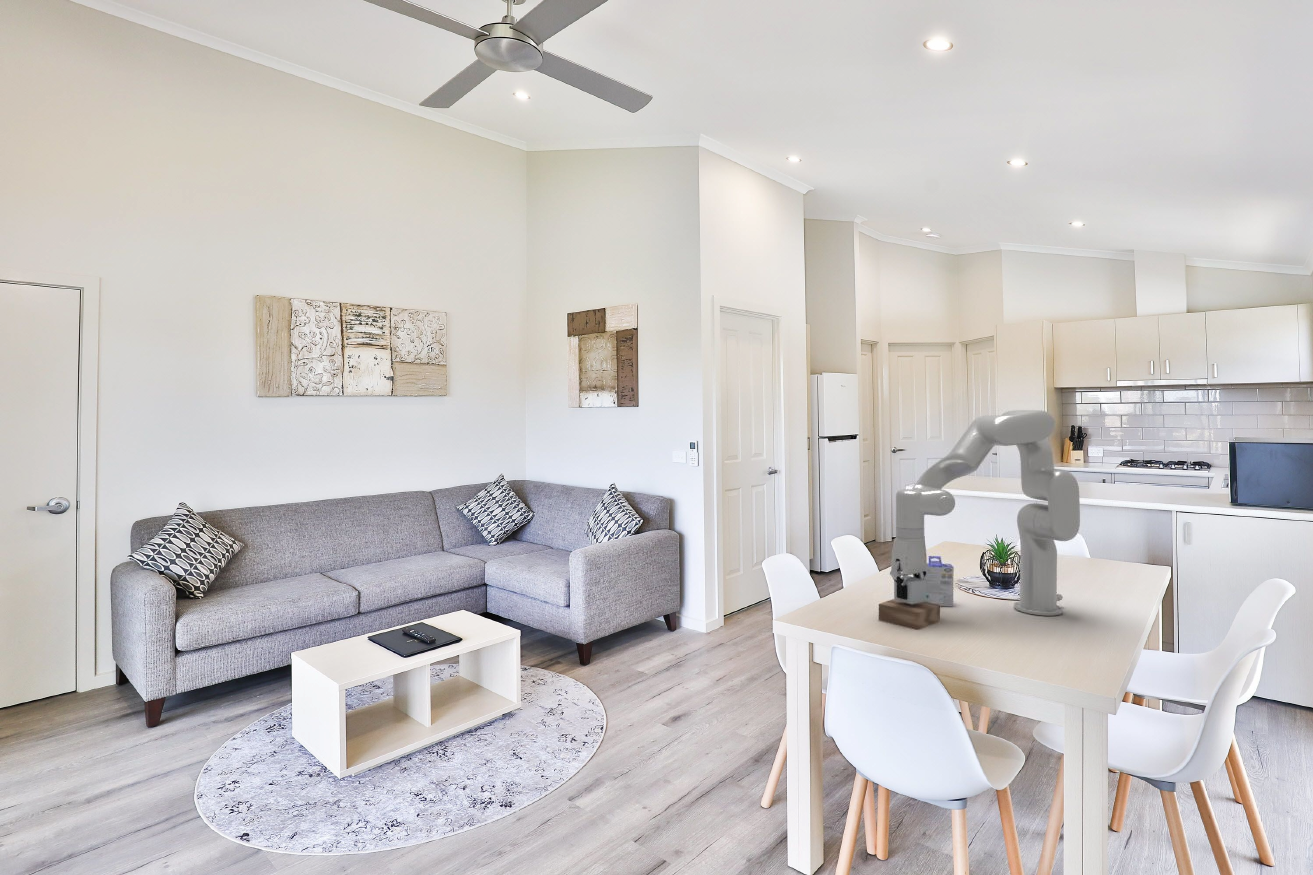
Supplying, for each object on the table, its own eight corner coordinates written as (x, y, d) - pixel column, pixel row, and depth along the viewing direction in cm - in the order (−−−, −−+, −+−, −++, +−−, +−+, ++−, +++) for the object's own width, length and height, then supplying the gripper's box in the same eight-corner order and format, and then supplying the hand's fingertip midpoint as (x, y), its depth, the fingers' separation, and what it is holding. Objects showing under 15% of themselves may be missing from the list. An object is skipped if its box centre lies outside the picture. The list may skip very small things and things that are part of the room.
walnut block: (901, 613, 207) (901, 596, 207) (940, 622, 198) (940, 604, 198) (878, 621, 199) (878, 603, 199) (917, 631, 190) (918, 612, 190)
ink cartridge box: (950, 602, 217) (951, 555, 217) (954, 607, 212) (954, 559, 211) (917, 600, 219) (917, 554, 219) (920, 605, 214) (920, 558, 213)
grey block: (908, 596, 203) (908, 575, 202) (925, 601, 198) (925, 579, 197) (894, 599, 199) (894, 578, 199) (911, 604, 194) (911, 582, 194)
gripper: (918, 528, 206) (918, 589, 206) (878, 534, 197) (878, 598, 197) (941, 532, 199) (940, 595, 200) (900, 538, 190) (900, 604, 191)
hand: (909, 596), depth 198 cm, fingers closed on grey block, 6 cm apart
